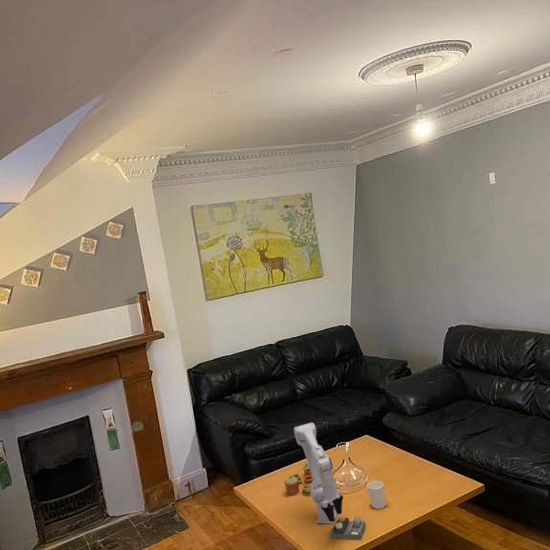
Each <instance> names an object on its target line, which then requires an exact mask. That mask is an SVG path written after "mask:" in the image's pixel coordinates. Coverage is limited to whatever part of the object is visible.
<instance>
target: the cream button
mask: <svg viewBox="0 0 550 550" xmlns="http://www.w3.org/2000/svg"><path fill="white" fill-rule="evenodd" d="M334 524H335V523H334ZM335 525H336V529H338V530H342V529H343V525H342V523H340V522H338V523H336V524H335Z"/></svg>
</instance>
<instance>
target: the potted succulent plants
mask: <svg viewBox="0 0 550 550" xmlns="http://www.w3.org/2000/svg"><path fill="white" fill-rule="evenodd" d="M301 468H302V470H303V471H304V474H305V476H304V477H303V478H301V474H300V473H298V472H296V473H294V474H291V475H289V476H288V478H286V479H285V480H284V489H285V490H286V492H287V494H288V495H289V496H296V495H298V494H299V492H300V488H299V486H300V485H299V484H301V483H303V482H304V483H303V484H304V485H302V486H301V487H302V491H301V494H302V495H303V496H311V493H310V485H311V483H312V482H313V478H312V475H311V472H310V468H309V465H308V462H307V463H306V462H305V463H304V465H303V466H302V467H301ZM314 488H316V487H314Z"/></svg>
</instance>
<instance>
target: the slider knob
mask: <svg viewBox="0 0 550 550" xmlns="http://www.w3.org/2000/svg"><path fill="white" fill-rule="evenodd" d="M352 521H353V525H354V527H360V526H361V523H362V521H363V519H362V517H361V516H354V517H353V519H352Z"/></svg>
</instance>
